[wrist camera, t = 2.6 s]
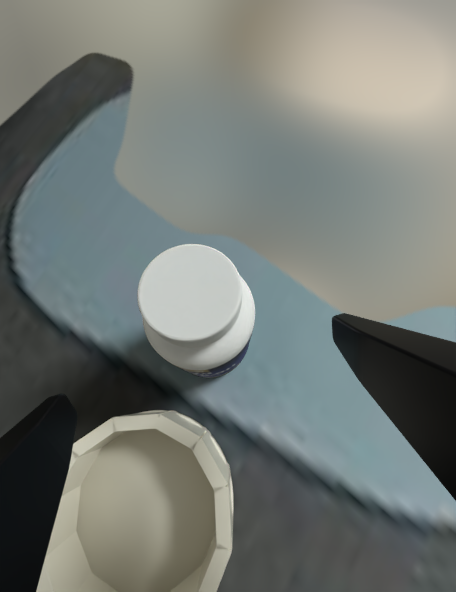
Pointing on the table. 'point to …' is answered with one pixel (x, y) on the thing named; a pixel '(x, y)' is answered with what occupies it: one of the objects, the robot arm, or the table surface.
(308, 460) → the table surface
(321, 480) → the table surface
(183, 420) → the bowl
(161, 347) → the pill bottle
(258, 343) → the table surface
